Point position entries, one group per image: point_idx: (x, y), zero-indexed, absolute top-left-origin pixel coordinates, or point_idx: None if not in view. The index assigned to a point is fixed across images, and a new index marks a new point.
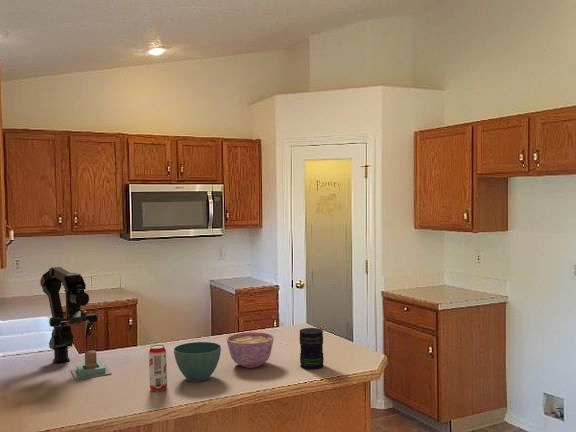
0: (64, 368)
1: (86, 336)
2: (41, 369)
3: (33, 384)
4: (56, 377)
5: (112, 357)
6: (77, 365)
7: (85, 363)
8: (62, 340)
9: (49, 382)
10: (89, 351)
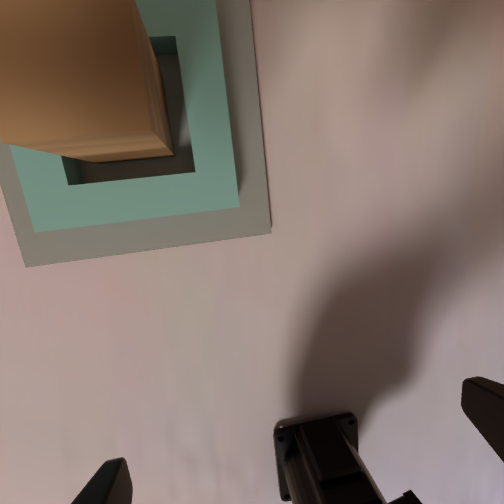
0: (305, 303)
1: (86, 498)
2: (418, 328)
3: (488, 19)
4: (357, 116)
5: (2, 455)
6: (232, 201)
7: (162, 112)
8: (491, 386)
9: (404, 11)
10: (80, 109)
